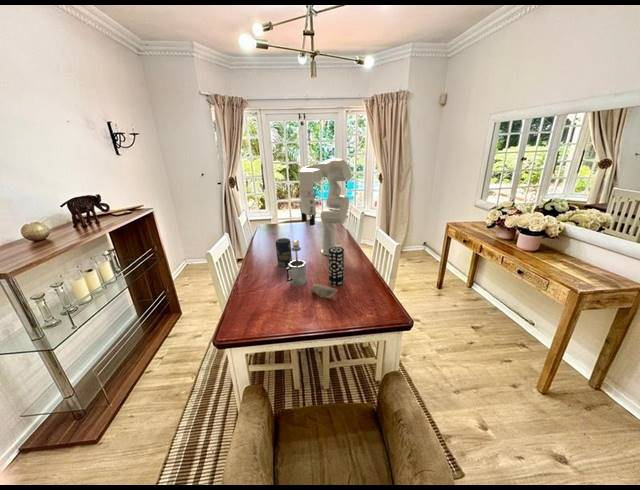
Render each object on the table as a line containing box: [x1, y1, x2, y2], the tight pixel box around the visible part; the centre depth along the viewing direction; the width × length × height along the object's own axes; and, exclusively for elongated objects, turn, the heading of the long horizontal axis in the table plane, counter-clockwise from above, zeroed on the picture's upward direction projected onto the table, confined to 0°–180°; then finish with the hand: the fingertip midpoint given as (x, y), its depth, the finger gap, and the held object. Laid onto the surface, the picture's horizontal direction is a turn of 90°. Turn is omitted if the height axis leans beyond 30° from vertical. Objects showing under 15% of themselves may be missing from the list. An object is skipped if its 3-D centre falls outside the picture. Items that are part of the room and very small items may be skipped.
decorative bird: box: [311, 283, 340, 304], centre depth 127 cm, size 5×16×8 cm, turn 52°
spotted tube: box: [328, 247, 345, 287], centre depth 138 cm, size 8×8×20 cm
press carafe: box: [285, 259, 307, 287], centre depth 140 cm, size 11×9×12 cm
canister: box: [275, 237, 293, 267], centre depth 162 cm, size 10×10×18 cm
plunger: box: [291, 239, 302, 267], centre depth 136 cm, size 6×6×16 cm
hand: (308, 223), depth 145 cm, fingers open, 9 cm apart
